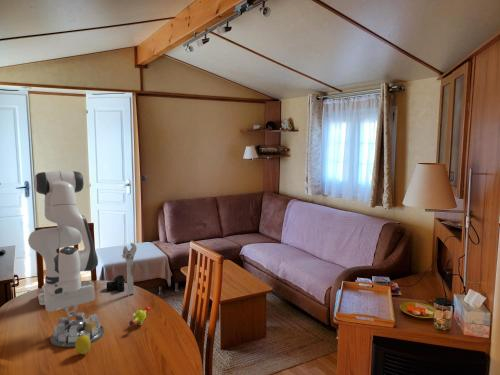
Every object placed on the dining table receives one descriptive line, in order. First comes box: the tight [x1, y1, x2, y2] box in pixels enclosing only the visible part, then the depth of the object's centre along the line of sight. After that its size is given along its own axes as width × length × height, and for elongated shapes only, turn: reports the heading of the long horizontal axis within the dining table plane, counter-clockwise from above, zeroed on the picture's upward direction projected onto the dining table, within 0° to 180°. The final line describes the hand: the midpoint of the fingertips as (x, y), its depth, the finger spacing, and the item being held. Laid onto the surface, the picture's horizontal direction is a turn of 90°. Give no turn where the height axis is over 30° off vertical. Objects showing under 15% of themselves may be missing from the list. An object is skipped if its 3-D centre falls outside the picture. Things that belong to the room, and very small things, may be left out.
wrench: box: [121, 242, 137, 297], centre depth 211 cm, size 8×2×30 cm, turn 134°
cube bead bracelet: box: [53, 312, 101, 343], centre depth 168 cm, size 18×18×6 cm
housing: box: [49, 319, 105, 349], centre depth 168 cm, size 21×21×6 cm
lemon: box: [74, 335, 92, 355], centre depth 152 cm, size 6×6×8 cm
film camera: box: [106, 274, 125, 293], centre depth 221 cm, size 15×10×9 cm, turn 21°
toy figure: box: [128, 306, 151, 327], centre depth 179 cm, size 18×6×7 cm, turn 169°
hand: (71, 315), depth 172 cm, fingers closed
